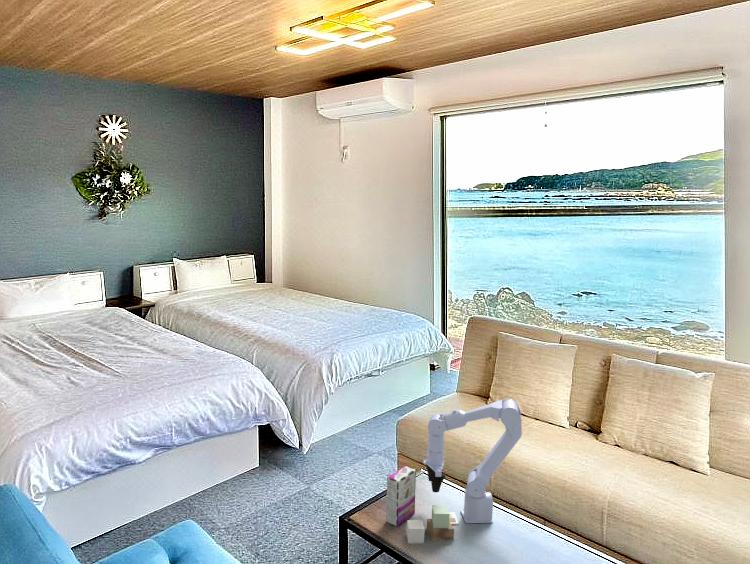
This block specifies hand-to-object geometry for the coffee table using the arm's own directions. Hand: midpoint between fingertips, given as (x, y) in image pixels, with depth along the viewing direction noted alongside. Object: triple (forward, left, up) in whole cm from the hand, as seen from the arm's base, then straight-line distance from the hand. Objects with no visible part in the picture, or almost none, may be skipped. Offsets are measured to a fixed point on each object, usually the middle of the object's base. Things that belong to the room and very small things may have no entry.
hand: (433, 486), depth 194 cm
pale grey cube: (+9, +16, -10) cm, 20 cm away
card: (-5, +5, -9) cm, 12 cm away
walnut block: (0, +14, -10) cm, 17 cm away
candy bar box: (+12, +4, -10) cm, 16 cm away
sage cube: (0, +14, -6) cm, 15 cm away
